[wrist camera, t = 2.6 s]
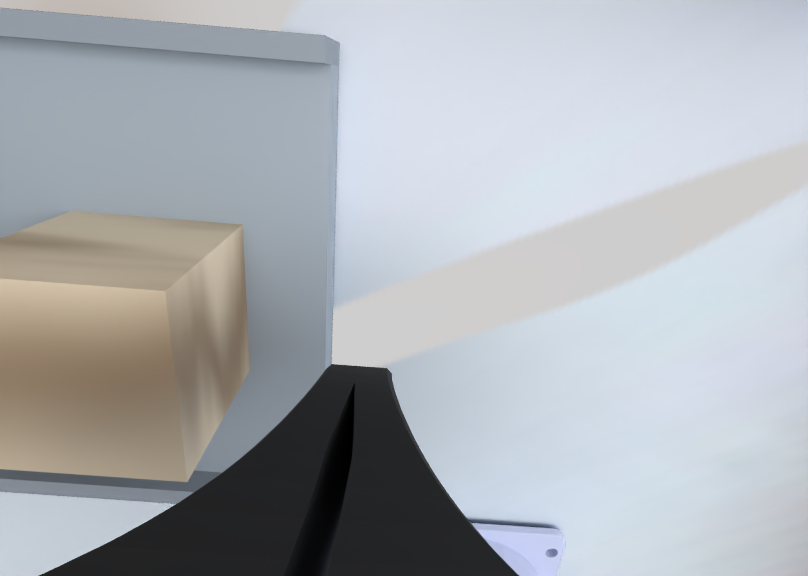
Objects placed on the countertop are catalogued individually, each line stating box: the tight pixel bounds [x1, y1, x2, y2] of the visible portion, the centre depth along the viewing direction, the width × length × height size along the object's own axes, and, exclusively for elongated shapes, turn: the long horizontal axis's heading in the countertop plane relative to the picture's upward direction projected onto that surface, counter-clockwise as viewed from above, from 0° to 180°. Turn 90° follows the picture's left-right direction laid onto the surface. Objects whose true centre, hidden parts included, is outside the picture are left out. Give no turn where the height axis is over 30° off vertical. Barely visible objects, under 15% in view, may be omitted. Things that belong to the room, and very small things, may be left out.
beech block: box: [0, 211, 250, 482], centre depth 13 cm, size 5×5×5 cm
